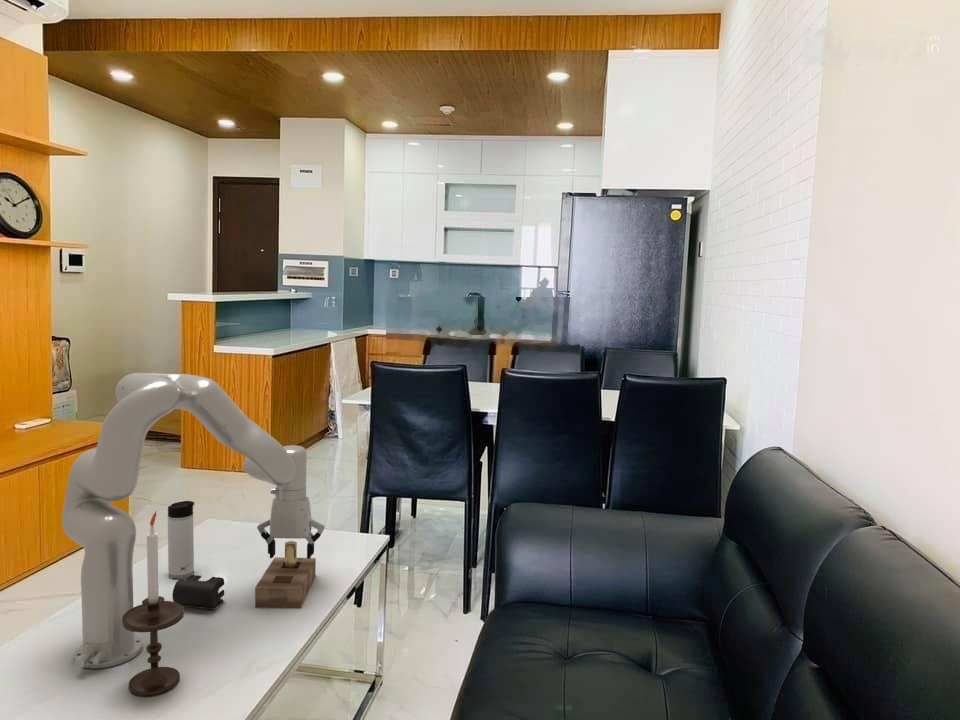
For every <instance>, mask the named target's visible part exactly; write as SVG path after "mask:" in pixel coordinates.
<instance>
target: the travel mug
mask: <svg viewBox="0 0 960 720" xmlns="http://www.w3.org/2000/svg"><path fill="white" fill-rule="evenodd" d="M194 506H195V501H192V500H183V501H177V502H174V503H171V505H169V506H167V556H168V557H167V559H168V560H167V562H168V572H167V573H168V577H169V576H170V577H172V578H183V579H187V578H188V577H189V576H190V575H192V574H193V575H194V574H195V560H194V559H195V556H194V555H195V554H194V553H195V552H194V549H195V548H194V545H195V544H194V543H195V542H194V511H193V510H194ZM170 577H169V578H170ZM186 577H187V578H186ZM172 578H171V579H172Z"/></svg>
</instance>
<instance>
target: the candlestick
mask: <svg viewBox="0 0 960 720" xmlns="http://www.w3.org/2000/svg"><path fill="white" fill-rule="evenodd" d="M156 518H157V510H155V511H154V513H153V514H152V517H151V519H150V521H149V525H150V527H149V528H150V529H149V532H148V533H146V555H147V556H146V560H147V561H146V563H147V564H146V565H147V566H146V567H147V573H146V574H147V598H144V599H143V600H142V601H141V604H139V605H136V606H133V608H132V609H130V610H128V611H127V612H126V613H125V614H124V615H123V617H122V625H123V627H124V628H125V629H126V630H129V631H132V632H134V633H140V634H141V633H149V642H150V643H149V644H148V645H147V646H146V647H145V649H146V652H147V654H149V657H148V658H147V663H148V664H150V668H147V669H144V670H142V671H140V672H138V673H136V674H135V675H133V676H132V678H130V680H129V681H128V690H129V693H130V694H131V695H133V696H135V697H138V698H139V697H140V698H152V697H157V696H160V695H163V694H166V693H168V692H170V691H172V690H174V689H175V688H176V687H177V685H178V684H179V683H180V680H181V679H180V678H181V677H180V675H181V673H180V672H179V670H178V669H176V668H174V667H172V666H171V667H170V666H159V663H160V661H161V660H162V656H161V655H160V654H159V653H160V652H161V651H162V648H163V645H162V643H161V642H159V640H158V639H159V637H158V635H159V633H158V631H162V630H165V629H168V628H170V627H171V628H172V626H175V625H176V624H179V623H180V621H181V620H183V618H184V617H185V608H184V606H182V605H181V604H179V603H176V602H174V601H173V600H165V597H164V596H161V595H159V593H160V592H159V547H158V546H159V545H158V543H159V541H158V532H157V531H155V527H154V525H155V521H156Z"/></svg>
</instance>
